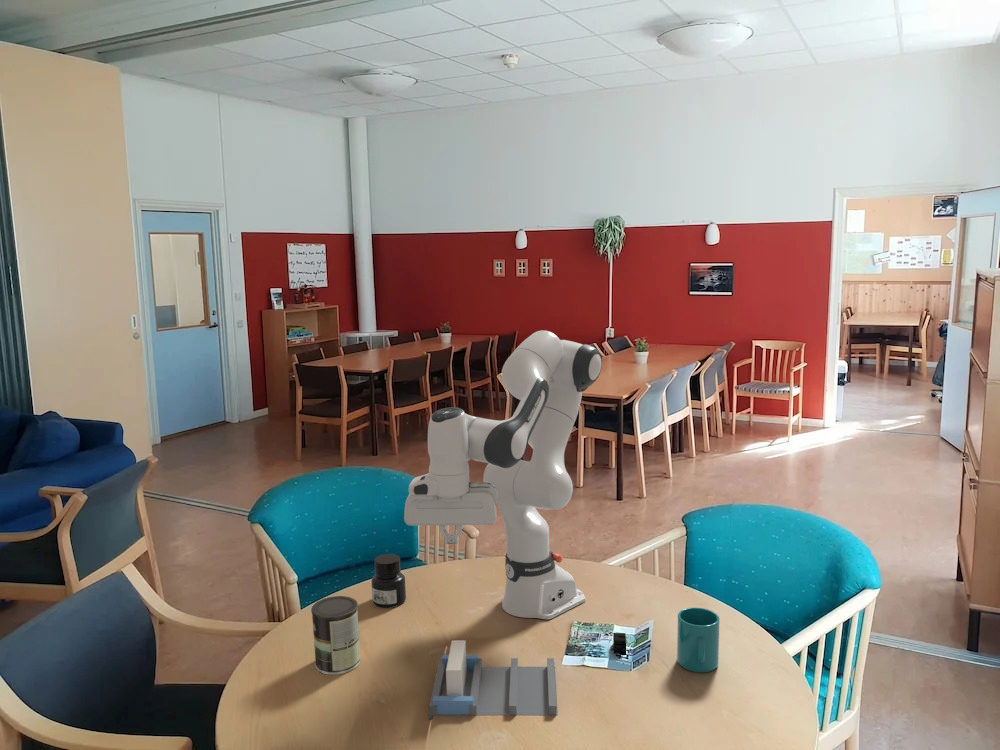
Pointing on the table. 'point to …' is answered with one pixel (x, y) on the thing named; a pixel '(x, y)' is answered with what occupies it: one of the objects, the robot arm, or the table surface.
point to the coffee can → (336, 635)
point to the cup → (698, 639)
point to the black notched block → (619, 643)
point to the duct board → (497, 690)
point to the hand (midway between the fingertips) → (451, 543)
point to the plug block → (456, 668)
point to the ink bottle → (388, 582)
